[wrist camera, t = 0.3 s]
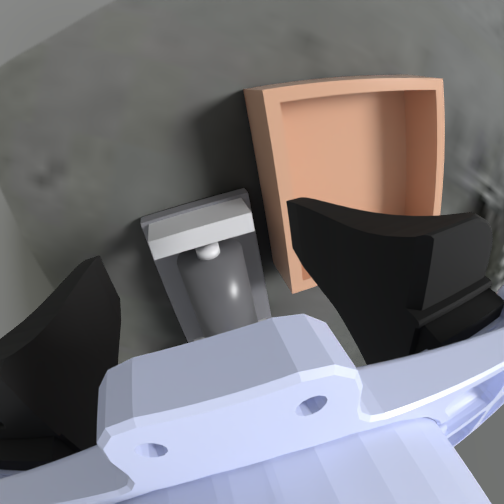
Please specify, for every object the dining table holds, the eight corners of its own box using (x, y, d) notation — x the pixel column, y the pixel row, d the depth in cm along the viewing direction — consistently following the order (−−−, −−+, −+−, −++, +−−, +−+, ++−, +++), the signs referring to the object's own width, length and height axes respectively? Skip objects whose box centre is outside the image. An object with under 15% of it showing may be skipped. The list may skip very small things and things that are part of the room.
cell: (251, 312, 25) (269, 347, 22) (202, 329, 24) (214, 366, 21) (230, 223, 21) (249, 252, 18) (171, 242, 20) (178, 274, 17)
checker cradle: (269, 320, 27) (283, 348, 24) (191, 344, 26) (197, 375, 23) (244, 187, 21) (259, 206, 18) (140, 217, 20) (138, 241, 17)
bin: (407, 221, 26) (436, 241, 23) (273, 263, 25) (292, 293, 21) (405, 74, 20) (442, 78, 16) (243, 89, 18) (262, 90, 14)
